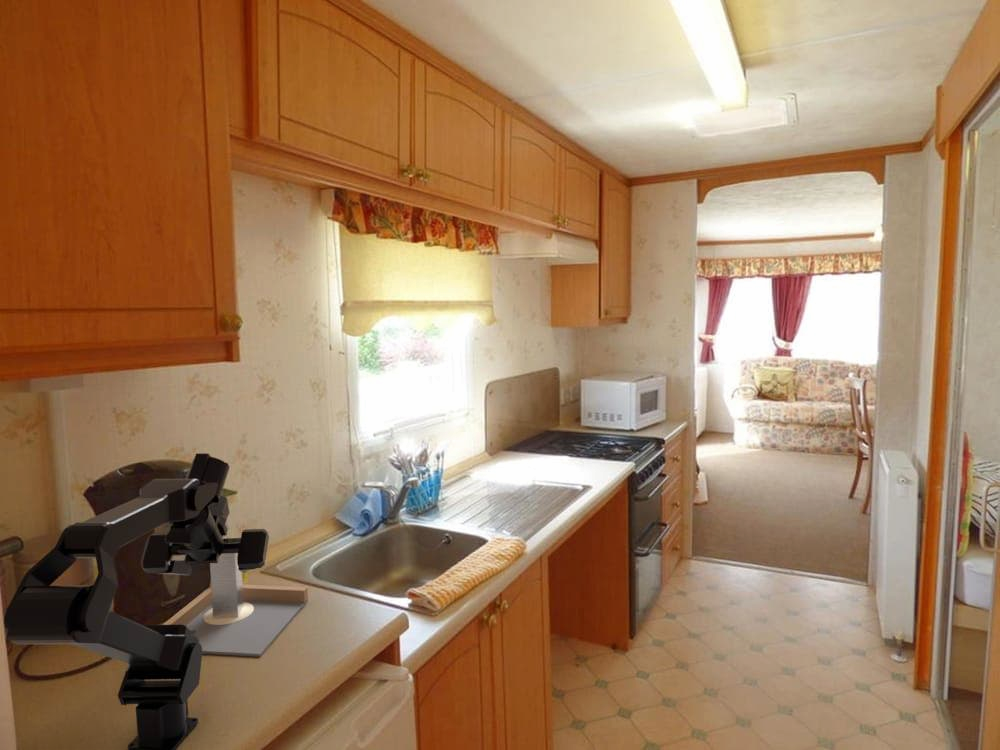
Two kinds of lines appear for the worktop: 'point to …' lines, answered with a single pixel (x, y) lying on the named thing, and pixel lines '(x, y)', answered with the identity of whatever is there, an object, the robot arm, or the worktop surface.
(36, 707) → the worktop surface
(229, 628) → the corner arena
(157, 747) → the robot arm
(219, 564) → the aluminium post
